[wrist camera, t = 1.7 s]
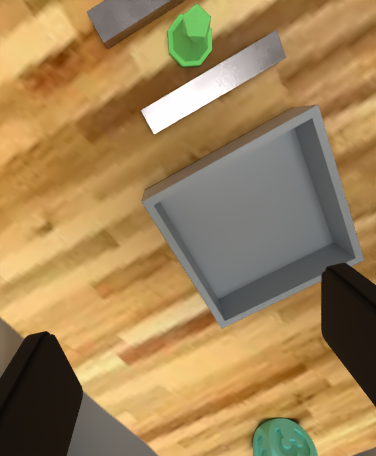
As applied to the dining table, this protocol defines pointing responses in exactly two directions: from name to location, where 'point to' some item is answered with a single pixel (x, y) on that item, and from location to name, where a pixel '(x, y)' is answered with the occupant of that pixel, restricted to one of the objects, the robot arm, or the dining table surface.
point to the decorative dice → (282, 439)
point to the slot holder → (197, 88)
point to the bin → (258, 215)
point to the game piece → (190, 37)
